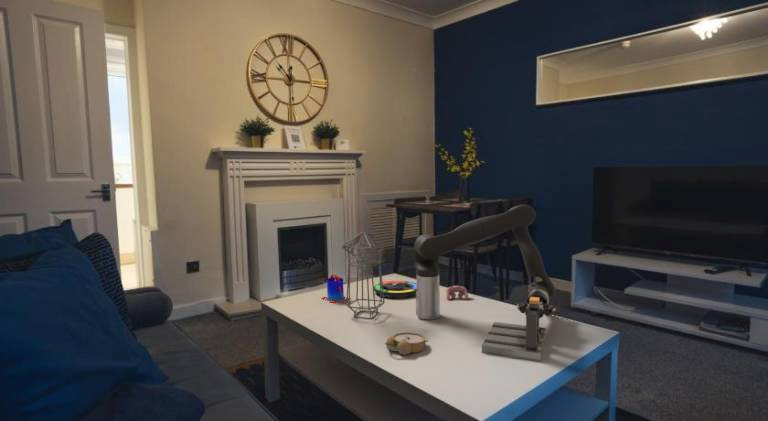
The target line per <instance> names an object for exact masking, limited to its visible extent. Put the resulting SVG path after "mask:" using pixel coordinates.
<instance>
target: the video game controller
mask: <svg viewBox="0 0 768 421" xmlns="http://www.w3.org/2000/svg"><path fill="white" fill-rule="evenodd" d="M456 293H457V294H456ZM445 295H446V300H447V301H450V299H451V298H452V299H455V298H456V297H457V298H459V299H462V298H463V297H464V298H465V300H466V301H468V299H469V293H468V290H467V288H466V287H465V286H462V285H452V286H449V287H447V288H446V292H445ZM450 297H451V298H450Z"/></svg>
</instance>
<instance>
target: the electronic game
mask: <svg viewBox="0 0 768 421" xmlns="http://www.w3.org/2000/svg"><path fill="white" fill-rule="evenodd" d="M382 282H383V292H384V298H390V299H400V298H401V299H402V298H410V297H412V296H414V295H415V296H416V292H417V282H413V281H407V280H391V281H382ZM374 293H376V294H377V295H379V296H380V282H379V283H377V284H375V285H374ZM381 294H382V285H381ZM382 297H383V294H382Z"/></svg>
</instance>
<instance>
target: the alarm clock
mask: <svg viewBox="0 0 768 421" xmlns="http://www.w3.org/2000/svg"><path fill="white" fill-rule="evenodd" d="M426 343H428V340H426V337H425V336H424V335H422V334H421V333H416V332H410V331H409V332H399V333H398V332H397V333H395V334H393V335H390V336H388V337H387V338H386V341H385V343H384V344H385V345H386V346H385V347H386V349H387V350H389V351H391V352H393V351H394V352H397V353H398V354H400V355H401V356H408V355H410V354H411V353H419V352H422V351H424V350H425V349H426Z"/></svg>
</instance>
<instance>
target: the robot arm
mask: <svg viewBox="0 0 768 421" xmlns="http://www.w3.org/2000/svg"><path fill="white" fill-rule="evenodd" d="M536 216H537V213H536V210H535V209H534V208H533V207H532V206H531V205H528V204H518V205H515V206H513V207H510V209H508V210H507V211H505V212H502V213H498V214H493V215H489V216H483V217H480V218H476V219H472V220H470V221H467V222H465V223H462V224H461V225H458V226H457V227H456V228H454V229H453V230H451V231H449V232H447V233H444V234H439V235H435V236H432V235H430V234H425V233H424V234H421V235H420V236H418V237H416V239H415V241H414V246H413V250H414V251H413V255H414V267H415V272H416V284H417V292H416V294H415V315H416V316H417V318H418V320H420V319H422V320H435V319H438V318H440V317H441V309H440V308H441V306H440V305H441V304H440V303H441V302H440V300H441V299H440V293H441V292H440V268H439V265H438V262H437V259H438V258H439V257H441V256H443V255H445V254H448V253H450V252H452V251H454V250H457V249H462V248H465V247H468V246H471V245H475V244H479V243H481V242H484V241H486V240H489V239H491V238H494V237H497V236H498V235H501V234H503V233H504V232H505V233H506V232H508V231H512V233H513V235H514V237H515V239H516V241H517V244H518V248H519V250H520V252H521V253H520V254H522V258H523V262H524V266H525V269H526V273H527V275H528V276H529V277H532V278H535V277H536V278H540V279H541V280H539V281H534V282H531V283H529V284H528V286H527V293H528V296H527V298H526V301H525V302H524V303H523V302H521V301H517V302H516V307H517V309H516V310H518V311H519V312H520V313H521V314H524V315H525V316H526V313H527V311H528V310H529V300H530V297H538V298H540V301H539V320H540V319H541V318H543V317H544V315H545V316H546V317H549V316H551V315H553V314H555V313H556V305H555V304H552V305H549V303H550V298H551V297H554V296H555V295H556V286H555V285H554V283H553V282H552V280H551V279H550V277H549V275H548V273H547V272H546V268H545V265H544V262H543V258H542V256H541V254H540V250H539V248H538V247H537V245H536V244H535V243H534V241H533V239H532V237H531V235H530V232H529V226H531V225H532V224H533V223H534V221H535V220H536Z"/></svg>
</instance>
